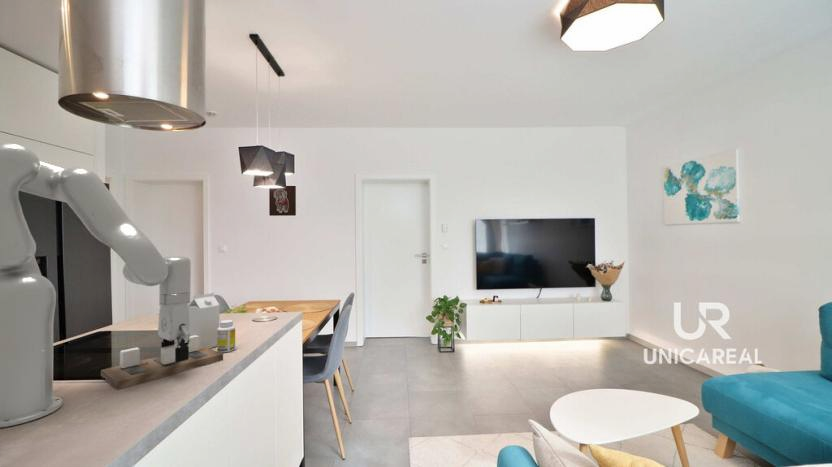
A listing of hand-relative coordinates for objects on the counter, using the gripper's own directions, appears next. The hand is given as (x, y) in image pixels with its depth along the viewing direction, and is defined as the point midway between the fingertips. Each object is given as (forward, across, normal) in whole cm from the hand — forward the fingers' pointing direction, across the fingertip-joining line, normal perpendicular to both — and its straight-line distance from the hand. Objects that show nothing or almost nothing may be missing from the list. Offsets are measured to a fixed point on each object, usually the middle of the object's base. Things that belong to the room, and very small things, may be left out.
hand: (174, 357), depth 104 cm
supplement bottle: (+5, -8, +19) cm, 21 cm away
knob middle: (+2, -3, 0) cm, 4 cm away
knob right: (+2, -9, +8) cm, 12 cm away
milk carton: (+5, -18, +16) cm, 25 cm away
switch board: (+4, -6, 0) cm, 8 cm away
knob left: (+2, -9, -8) cm, 12 cm away
